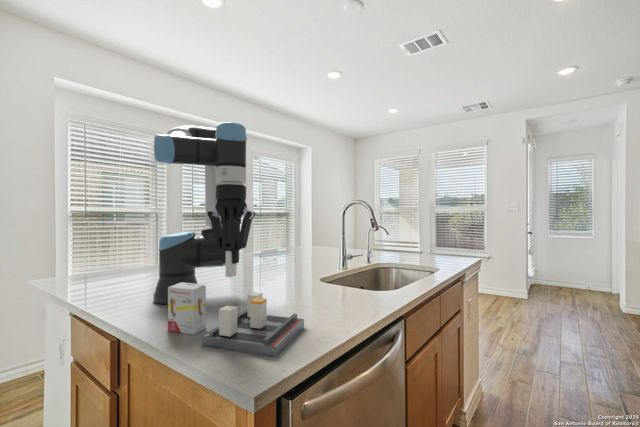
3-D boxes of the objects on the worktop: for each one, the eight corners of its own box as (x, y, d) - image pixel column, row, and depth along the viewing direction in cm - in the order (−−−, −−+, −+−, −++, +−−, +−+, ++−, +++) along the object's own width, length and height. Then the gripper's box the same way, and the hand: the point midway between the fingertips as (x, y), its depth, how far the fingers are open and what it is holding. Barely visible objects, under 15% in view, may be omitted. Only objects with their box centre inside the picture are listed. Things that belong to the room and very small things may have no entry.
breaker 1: (219, 335, 74) (219, 309, 74) (226, 330, 77) (226, 305, 77) (230, 336, 73) (230, 310, 73) (237, 331, 76) (237, 306, 76)
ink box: (166, 331, 83) (166, 286, 83) (180, 324, 87) (180, 281, 87) (193, 335, 80) (193, 288, 80) (206, 328, 85) (206, 284, 85)
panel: (201, 345, 74) (201, 330, 74) (242, 319, 91) (242, 307, 91) (276, 357, 69) (276, 341, 69) (304, 327, 86) (304, 314, 86)
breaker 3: (250, 327, 79) (250, 300, 79) (256, 323, 82) (256, 297, 82) (261, 328, 78) (261, 302, 78) (266, 324, 81) (266, 298, 81)
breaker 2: (247, 316, 86) (247, 294, 86) (252, 313, 89) (252, 292, 89) (257, 318, 86) (257, 295, 85) (262, 314, 88) (262, 293, 88)
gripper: (200, 183, 80) (200, 277, 80) (246, 182, 76) (246, 280, 76) (217, 186, 87) (217, 271, 87) (260, 185, 83) (260, 274, 83)
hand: (231, 275), depth 82 cm, fingers closed
